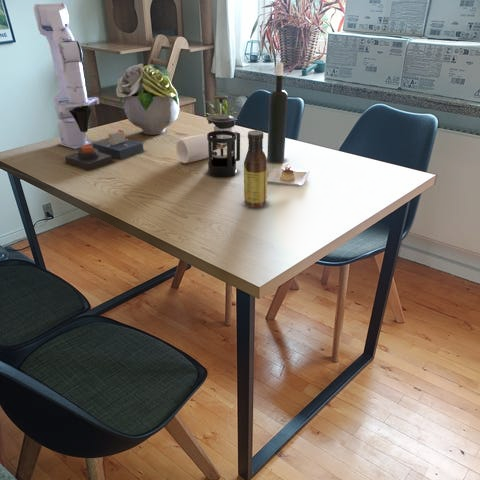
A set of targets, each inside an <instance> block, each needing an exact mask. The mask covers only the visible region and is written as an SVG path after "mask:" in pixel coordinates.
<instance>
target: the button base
mask: <svg viewBox="0 0 480 480" xmlns="http://www.w3.org/2000/svg"><path fill="white" fill-rule="evenodd" d="M64 158H65V163H66V164H69V165H72V166H75V167H78V168H82V169H85V170H88V171H91V170H95V169H96V168H97V169H98V168H100V167H103V166H106V165H108V164H111V163H113V162H114V161H113V157H112V156H111V155H107V154H104V153H100V152H98V150H97V149H96V148H93V152H89V153H83V152H82V149H81V148H78V150H76V152H74V153H72V154H68V155H66V156H64Z"/></svg>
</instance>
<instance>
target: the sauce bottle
mask: <svg viewBox="0 0 480 480" xmlns="http://www.w3.org/2000/svg"><path fill="white" fill-rule="evenodd" d="M247 139H248V143H247V144H248V148H247V152H246V156H245V158H244V161H243V192H244V193H243V196H244V197H243V198H244V204H245V205H246V206H247V207H250V208H254V209H258V208H262V207H265V206H266V204H267V199H268V197H267V193H268V182H267V176H268V166H267V164H268V161H267V155H266V153H265V152H264V151H263V148H264V147H263V145H264V143H263V142H264V141H263V139H264V132H263V131H262V130H255V129H254V130H249V131H248V132H247Z"/></svg>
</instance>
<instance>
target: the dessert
mask: <svg viewBox="0 0 480 480" xmlns="http://www.w3.org/2000/svg"><path fill="white" fill-rule="evenodd" d="M309 174H310V170H309V171H308V170H300V169H299V170H298V169H294V168H292V166H290V165H289V164H286V165H284V167H283V168H278V167H272V169H271V170H270V172H269V173H268V174H267V183H269V184H277V185H284V186H285V185H286V186H293V187H294V186H295V187H300V186H304V185H305V183H306V181H307V179H308V177H309Z"/></svg>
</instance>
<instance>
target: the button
mask: <svg viewBox="0 0 480 480" xmlns="http://www.w3.org/2000/svg"><path fill="white" fill-rule="evenodd" d="M80 149H82V152H83V153H89V152H93V145H92V144H91V145H84V146H82V147H81V148H80Z"/></svg>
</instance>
